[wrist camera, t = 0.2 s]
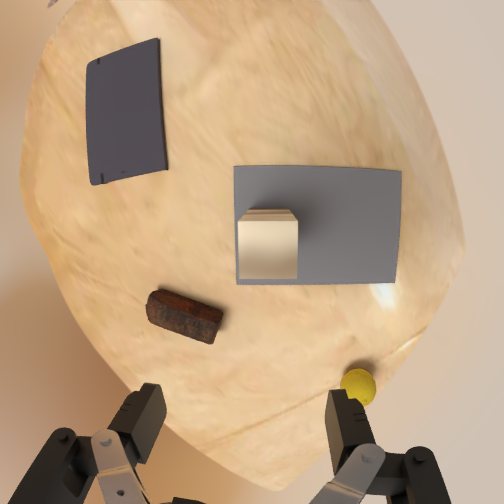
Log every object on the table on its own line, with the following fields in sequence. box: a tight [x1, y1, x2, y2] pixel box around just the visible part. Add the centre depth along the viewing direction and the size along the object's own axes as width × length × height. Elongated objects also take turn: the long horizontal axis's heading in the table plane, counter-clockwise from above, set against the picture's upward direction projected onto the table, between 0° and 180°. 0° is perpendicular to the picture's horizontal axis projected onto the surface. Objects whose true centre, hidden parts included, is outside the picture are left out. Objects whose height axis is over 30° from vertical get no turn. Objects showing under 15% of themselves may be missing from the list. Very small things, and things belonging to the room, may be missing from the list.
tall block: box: [238, 208, 298, 279], centre depth 32 cm, size 5×5×14 cm
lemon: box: [340, 369, 376, 407], centre depth 39 cm, size 6×6×8 cm
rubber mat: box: [234, 166, 401, 285], centre depth 38 cm, size 16×23×1 cm
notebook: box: [86, 38, 168, 186], centre depth 36 cm, size 13×2×21 cm
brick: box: [146, 289, 223, 344], centre depth 40 cm, size 11×4×5 cm, turn 73°
